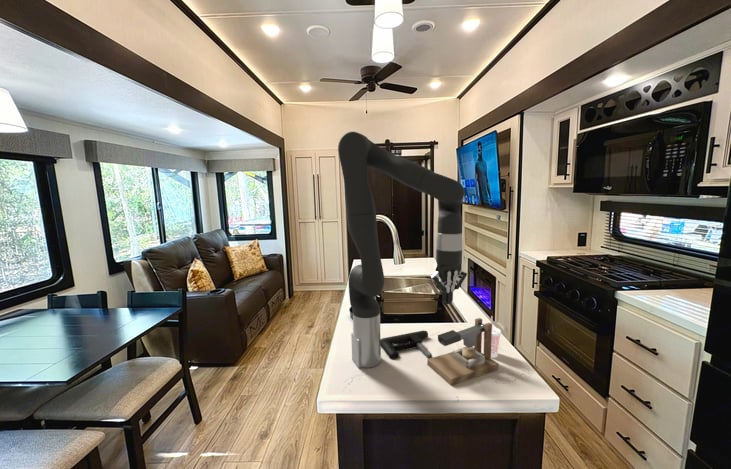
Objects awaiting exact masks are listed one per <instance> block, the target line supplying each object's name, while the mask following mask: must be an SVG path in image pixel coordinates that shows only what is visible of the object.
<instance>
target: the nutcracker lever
mask: <svg viewBox="0 0 731 469" xmlns="http://www.w3.org/2000/svg"><path fill="white" fill-rule="evenodd" d="M484 326H485V323H483V322H482V323H480V324H479V325H476V326H475V325H474V326H471V327H467V328H465V329H462V330H459V331H455V330H453V329H452V330H449V331H446V332H443V333H440V334H437V341H438V342H439V343H440V344H441V345H442V346H443V347H448V346H450V345H453V344H455V343H457V342H461V341H462V340H463V344H462V345H463V346H464V347H468V348H470V347H473V348H474V346H475V345H476V334H479V333H482V334H483V332H484Z"/></svg>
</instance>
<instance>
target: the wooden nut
mask: <svg viewBox="0 0 731 469" xmlns="http://www.w3.org/2000/svg"><path fill="white" fill-rule="evenodd" d="M462 356H463V357H464V358H466V359H467V360H470V359H473V358H475V349H474V347H473V348H472V347H470V348H468V347H466V346H463V347H462Z"/></svg>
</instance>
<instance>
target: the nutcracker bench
mask: <svg viewBox="0 0 731 469" xmlns="http://www.w3.org/2000/svg"><path fill="white" fill-rule="evenodd" d="M480 323H482V324H483V319H482V318H480V317H479V318H475V319H474V326H476V325H479V324H480ZM484 325H485V326H484V352H482V346H483V342H482V341H483V332H482V333H479V334H476V345H475V346H473V347H472V348H474V349H475V358H473V359H470V360H467V359H466V358H464V357H463V356H462V348H463V347H462V348H457V349H454V350H452V351H451V352H448V353H445V354H440V355H438V356H434V357H431V358H426V359H427V364H426V365H427V366H428V367H429V368H430V369H431V370H432V371H434V372H435V373H436V374H438V375H439V377H440V378H442V379H443V380H444V381H445V382H446V383H448V384H449V385H450V386H454V385H456V384H459V383H460V384H461V383H463V382H466V381H469V380H471V379H474V378H477V377H480V376H485V375H486V374H490V373H493V372H494V371H495V372H496V371H498V370H499V366H500V364H499V362H497V361H495V360H493V358H491V339H492V327H493V323H492V324H491V322H487V323H484Z"/></svg>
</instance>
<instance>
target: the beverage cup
mask: <svg viewBox="0 0 731 469" xmlns="http://www.w3.org/2000/svg"><path fill="white" fill-rule="evenodd" d="M493 318H494V317H493V315H491V316H490V323H491V324H492V325H493V320H494V319H493ZM501 333H502V330H501V329H500V328H499V327H495V326H492V339H491V359H493V358H497V357H498V352H499V345H500V337H501V336H500V335H501ZM482 341H483V342H482V346H483V348H482V349H483V352H482V353H484V332H482Z"/></svg>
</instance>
